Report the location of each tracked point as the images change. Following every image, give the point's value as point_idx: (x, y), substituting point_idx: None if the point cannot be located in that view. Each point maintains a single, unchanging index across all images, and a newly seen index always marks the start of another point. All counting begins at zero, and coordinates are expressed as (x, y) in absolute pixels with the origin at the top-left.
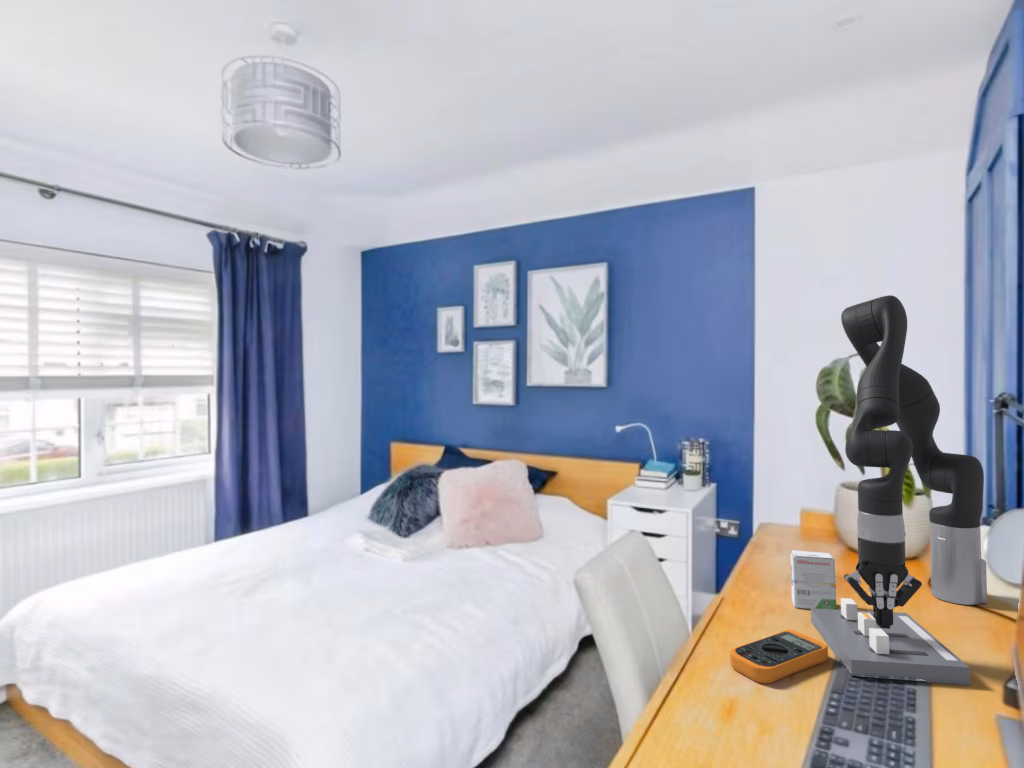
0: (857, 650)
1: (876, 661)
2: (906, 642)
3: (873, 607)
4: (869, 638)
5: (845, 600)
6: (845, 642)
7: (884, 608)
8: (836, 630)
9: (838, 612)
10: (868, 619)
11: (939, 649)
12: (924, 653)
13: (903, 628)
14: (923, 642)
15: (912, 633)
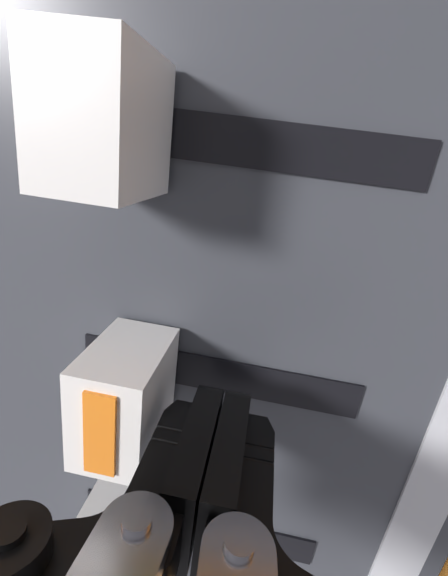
0: (39, 493)
1: None
2: (296, 463)
3: (129, 489)
4: (81, 510)
5: (39, 88)
6: (12, 432)
7: (191, 563)
8: (4, 315)
9: (93, 13)
10: (92, 477)
11: (405, 539)
12: (302, 553)
13: (415, 310)
14: (387, 472)
15: (415, 379)
